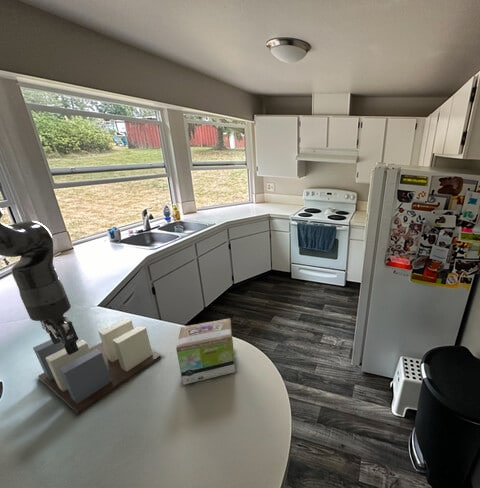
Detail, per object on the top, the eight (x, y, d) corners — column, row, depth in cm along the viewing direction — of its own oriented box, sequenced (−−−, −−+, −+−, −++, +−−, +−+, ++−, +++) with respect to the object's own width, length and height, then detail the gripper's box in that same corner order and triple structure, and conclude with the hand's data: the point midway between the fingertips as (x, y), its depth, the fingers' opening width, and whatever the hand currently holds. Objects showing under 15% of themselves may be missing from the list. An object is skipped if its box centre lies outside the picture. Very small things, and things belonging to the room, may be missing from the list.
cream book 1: (63, 391, 71) (50, 361, 67) (58, 387, 72) (45, 357, 68) (97, 371, 78) (87, 342, 74) (92, 367, 79) (82, 339, 75)
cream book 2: (112, 362, 81) (103, 334, 77) (107, 358, 82) (98, 331, 78) (138, 346, 88) (131, 320, 84) (133, 343, 89) (126, 317, 85)
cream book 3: (126, 371, 78) (117, 343, 74) (121, 368, 79) (112, 340, 75) (152, 354, 84) (146, 328, 81) (147, 351, 86) (140, 325, 82)
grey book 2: (77, 404, 68) (64, 373, 64) (71, 399, 69) (58, 368, 65) (111, 381, 74) (101, 352, 71) (106, 377, 76) (96, 348, 72)
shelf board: (78, 414, 66) (77, 411, 66) (39, 378, 76) (37, 375, 75) (161, 358, 85) (160, 355, 84) (121, 335, 94) (120, 332, 94)
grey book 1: (50, 380, 74) (37, 351, 70) (46, 376, 75) (32, 347, 71) (84, 361, 81) (73, 334, 77) (79, 358, 82) (69, 331, 78)
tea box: (183, 387, 75) (174, 348, 70) (186, 362, 83) (179, 325, 78) (235, 373, 80) (231, 335, 75) (234, 351, 89) (230, 316, 84)
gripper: (13, 297, 65) (36, 347, 70) (36, 313, 59) (59, 366, 65) (52, 285, 71) (71, 331, 77) (77, 298, 65) (95, 347, 71)
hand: (66, 347), depth 71 cm, fingers open, 8 cm apart
